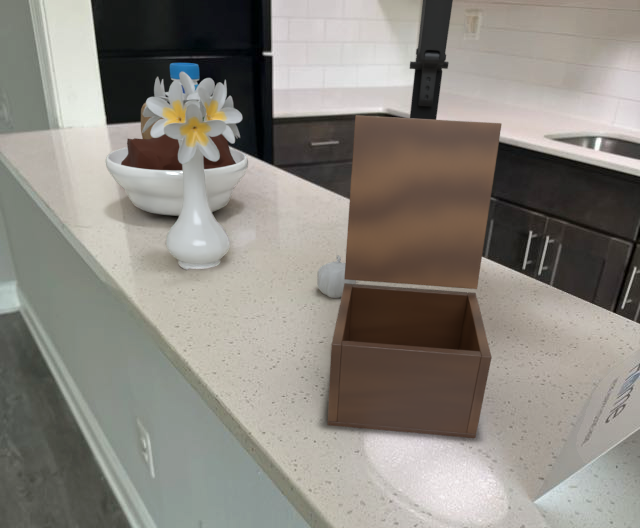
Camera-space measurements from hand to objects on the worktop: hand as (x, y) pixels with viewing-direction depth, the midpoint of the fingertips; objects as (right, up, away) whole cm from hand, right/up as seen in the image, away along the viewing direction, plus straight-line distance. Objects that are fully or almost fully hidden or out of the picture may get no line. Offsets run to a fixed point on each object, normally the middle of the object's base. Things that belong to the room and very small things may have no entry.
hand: (420, 138), depth 70 cm
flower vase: (-28, -7, +28) cm, 40 cm away
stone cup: (-45, +23, +72) cm, 88 cm away
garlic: (-9, -13, +20) cm, 25 cm away
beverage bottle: (-43, +37, +94) cm, 110 cm away
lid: (-1, -9, -5) cm, 10 cm away
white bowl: (-36, +10, +52) cm, 65 cm away
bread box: (-2, -28, -2) cm, 28 cm away
